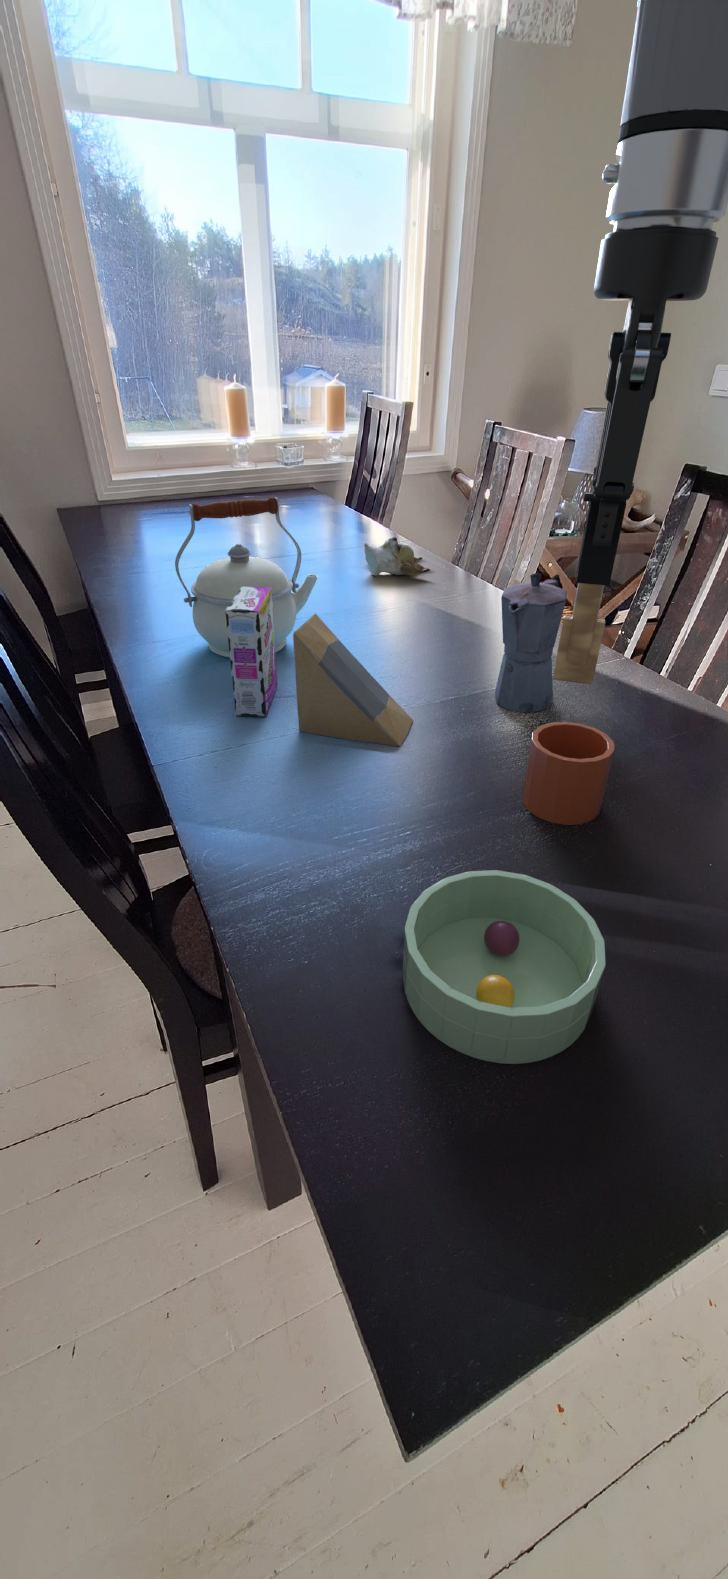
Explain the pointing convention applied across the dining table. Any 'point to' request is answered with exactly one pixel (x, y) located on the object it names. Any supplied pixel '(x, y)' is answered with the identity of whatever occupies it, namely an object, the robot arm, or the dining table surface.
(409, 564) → the ceramic sculpture
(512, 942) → the bead
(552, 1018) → the bowl
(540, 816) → the crock
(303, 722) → the sandwich container
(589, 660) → the wooden stirring stick
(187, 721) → the dining table surface
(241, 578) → the kettle
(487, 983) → the bead
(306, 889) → the dining table surface
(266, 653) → the candy bar box
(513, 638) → the moka pot
